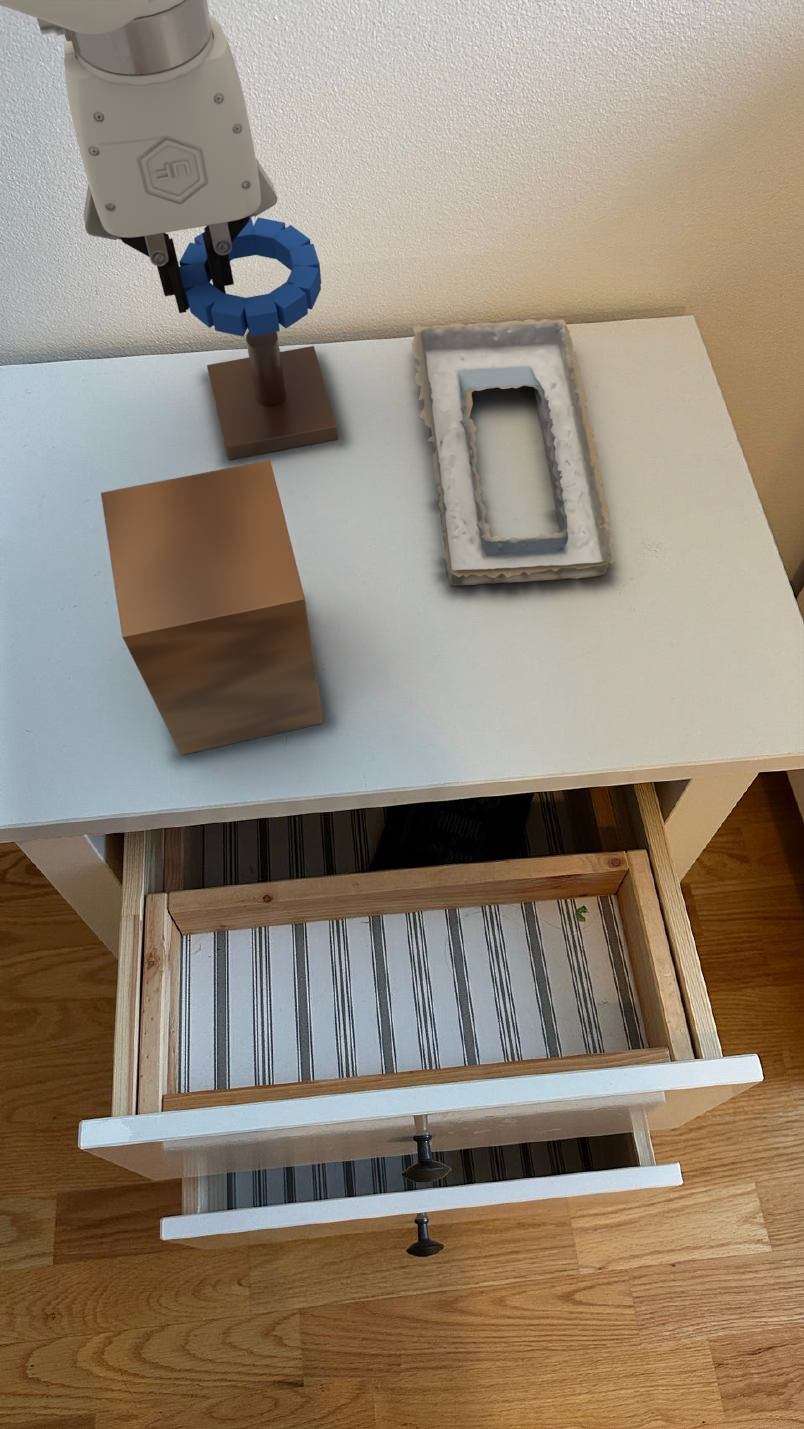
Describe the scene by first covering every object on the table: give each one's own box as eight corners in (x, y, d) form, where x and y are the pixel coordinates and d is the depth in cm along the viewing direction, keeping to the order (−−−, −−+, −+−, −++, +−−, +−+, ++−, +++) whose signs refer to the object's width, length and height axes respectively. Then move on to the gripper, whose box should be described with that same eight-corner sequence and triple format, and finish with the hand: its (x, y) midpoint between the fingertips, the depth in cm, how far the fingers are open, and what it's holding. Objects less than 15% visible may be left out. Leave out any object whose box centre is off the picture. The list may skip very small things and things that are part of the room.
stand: (180, 755, 67) (122, 637, 52) (160, 632, 71) (100, 492, 57) (324, 723, 68) (305, 599, 54) (295, 604, 72) (270, 459, 58)
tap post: (228, 460, 78) (212, 391, 71) (209, 378, 82) (193, 305, 75) (338, 439, 79) (333, 369, 72) (315, 359, 83) (308, 285, 76)
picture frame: (562, 343, 84) (567, 315, 81) (619, 586, 73) (627, 563, 70) (407, 354, 83) (408, 326, 81) (442, 600, 72) (443, 578, 70)
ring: (196, 347, 67) (191, 326, 65) (175, 252, 71) (169, 230, 69) (333, 322, 68) (331, 301, 66) (304, 229, 72) (302, 208, 70)
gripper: (-8, 80, 50) (93, 354, 67) (298, 35, 52) (322, 313, 68) (-18, -4, 53) (81, 278, 70) (271, -43, 55) (300, 241, 72)
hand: (200, 293), depth 69 cm, fingers closed on ring, 2 cm apart
